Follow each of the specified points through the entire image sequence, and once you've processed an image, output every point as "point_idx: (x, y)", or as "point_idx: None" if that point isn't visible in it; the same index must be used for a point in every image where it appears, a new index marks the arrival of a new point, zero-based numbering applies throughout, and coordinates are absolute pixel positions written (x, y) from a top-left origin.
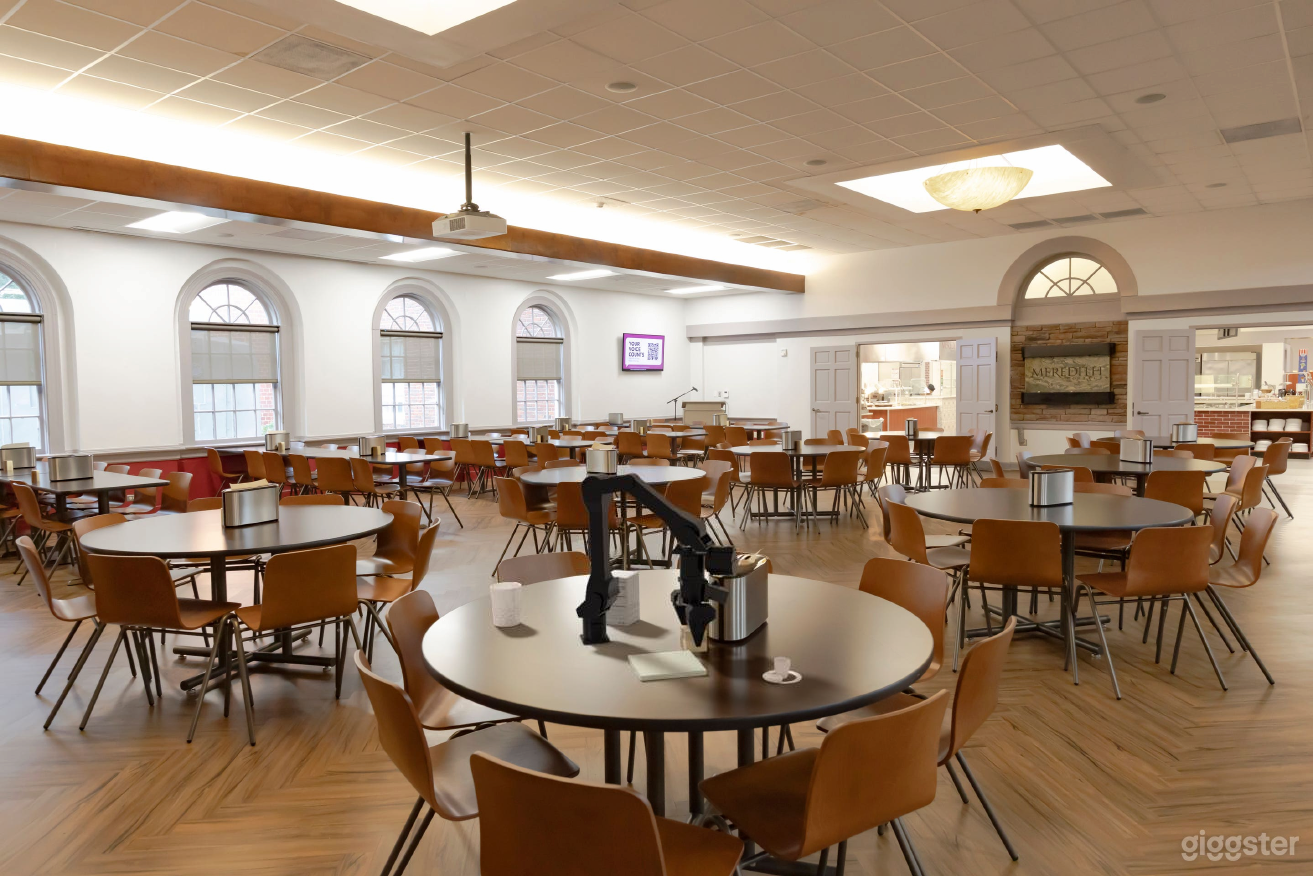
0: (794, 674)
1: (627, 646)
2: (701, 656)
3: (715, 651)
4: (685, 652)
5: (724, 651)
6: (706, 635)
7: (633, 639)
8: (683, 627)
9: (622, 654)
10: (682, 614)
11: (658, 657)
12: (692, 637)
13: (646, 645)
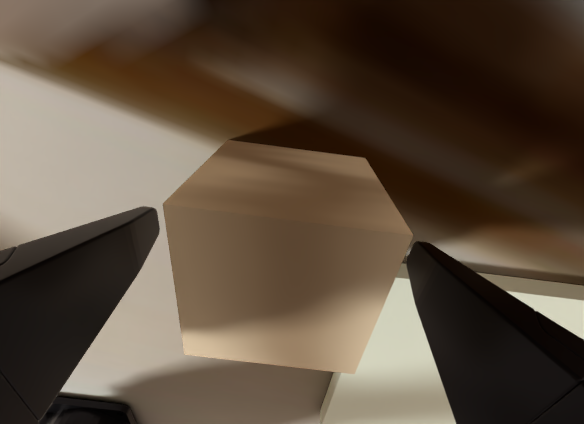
0: None
1: (180, 382)
2: (433, 220)
3: (401, 107)
4: (400, 300)
5: (441, 38)
6: (392, 205)
7: (96, 352)
8: (244, 353)
9: (260, 407)
10: (24, 395)
11: (395, 385)
12: (426, 332)
13: (181, 343)
